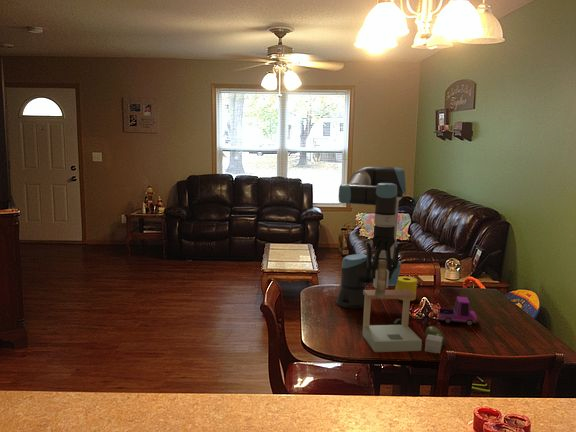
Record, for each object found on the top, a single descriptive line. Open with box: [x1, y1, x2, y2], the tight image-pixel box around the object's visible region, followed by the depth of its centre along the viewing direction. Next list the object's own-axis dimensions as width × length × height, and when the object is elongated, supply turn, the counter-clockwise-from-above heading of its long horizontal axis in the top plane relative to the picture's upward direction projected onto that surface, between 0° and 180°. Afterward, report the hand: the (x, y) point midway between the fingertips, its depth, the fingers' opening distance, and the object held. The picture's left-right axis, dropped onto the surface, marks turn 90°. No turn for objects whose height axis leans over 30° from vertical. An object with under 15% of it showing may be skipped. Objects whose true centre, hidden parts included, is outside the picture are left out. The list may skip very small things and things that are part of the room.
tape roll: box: [394, 275, 418, 302], centre depth 255 cm, size 10×10×9 cm
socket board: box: [361, 324, 423, 353], centre depth 200 cm, size 16×18×4 cm
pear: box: [424, 325, 446, 347], centre depth 203 cm, size 6×5×10 cm
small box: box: [424, 334, 444, 354], centre depth 195 cm, size 6×6×5 cm
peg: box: [374, 260, 387, 300], centre depth 194 cm, size 4×4×14 cm
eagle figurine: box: [393, 315, 412, 325], centre depth 216 cm, size 8×7×9 cm
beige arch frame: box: [362, 289, 417, 328], centre depth 204 cm, size 6×19×14 cm, turn 98°
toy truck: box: [437, 295, 478, 326], centre depth 226 cm, size 11×16×10 cm
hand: (380, 286), depth 195 cm, fingers closed on peg, 3 cm apart
